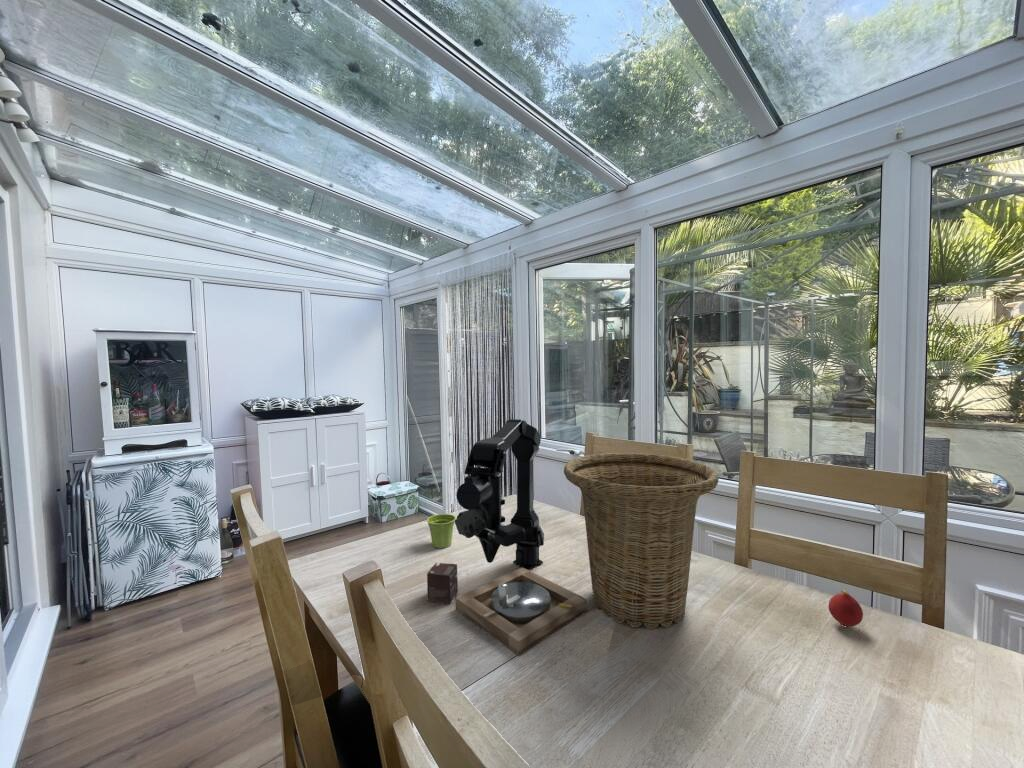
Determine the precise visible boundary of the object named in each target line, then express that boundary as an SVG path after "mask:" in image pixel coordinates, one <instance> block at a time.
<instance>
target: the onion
mask: <svg viewBox="0 0 1024 768" xmlns="http://www.w3.org/2000/svg"><path fill="white" fill-rule="evenodd" d="M840 592H841V593H836V594H835V595H833V596H832V597H830V599H829V601H828V607H827V608H828V611H829V613H830V615H831V616H832V617H833V619H834V620H836V622H838V623H839V624H840V626H842V625H843V626H846V627H847V628H852V627H856V626H857V625H859V624H860V623H861V622H862V620H863V618H864V612H863V608H862V607H861V605H860V603H859V602H858V601H857V599H855V598H854V597H853V596H852V595H851V594H849V593H848V591H846V590H844V589H842V590H840ZM843 626H842V627H843ZM846 627H845V628H846Z"/></svg>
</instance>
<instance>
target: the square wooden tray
mask: <svg viewBox="0 0 1024 768" xmlns="http://www.w3.org/2000/svg"><path fill="white" fill-rule="evenodd" d="M502 582H504V583H507V584H509V583H514V582H528V583H533V584H537V585H539V586H541V587H543V588H545V589H546V590H547V591H548V592H549V594H550V597H551V608H550V610H549V611H548V612H546V613H544V614H543V615H541V616H539V617H538V618H536V619H534V620H532V621H531V622H529V623H524V624H518V623H511V622H509V621H508V620H506V619H505V618H503V617H501V616H500V615H498V614H497V613H495V611H492V609H491V596H492V594H493V592H494V591H495V590H496V589H497V588H498V584H499V583H502ZM454 599H455V600H454V601H455V604H454V605H455V611H456V612H458V613H459V614H460V615H462V616H463V617H465V618H466V619H467V620H469V621H470V622H471V623H473V624H474V625H475V626H477V627H478V628H480V629H481V630H482V631H484V632H485V633H486V634H488V635H489V636H490V637H492V638H493V639H495V640H496V641H497V642H498V643H500V644H501V645H503V646H504V647H506V648H507V649H508V650H510V651H511V652H512V653H514V654H515V655H517V656H518V657H520V656H521V655H523V654H525V653H526V652H528V651H529V650H531V649H533V648H534V647H535V646H537V645H538V644H541V643H542V642H543V641H544V640H546V639H548V638H549V637H551V636H553V635H554V634H556V633H557V632H559V631H560V630H562V629H564V628H565V627H566V626H567V625H569V624H571V623H573V622H574V621H575V620H577V619H579V618H580V617H582V616H583V615H585V614H587V612H588V598H587V597H586V598H585V597H584V596H582V595H579V594H578V593H576V592H573V591H571V590H570V589H567V588H566V587H563V586H561V585H559V584H557V583H556V582H554V581H552V580H549V579H547V578H545V577H543V576H541V575H540V574H537V573H535V572H534V571H533V572H532V571H531V570H527V569H525V568H523V567H519V568H517V569H515V570H514V571H511V572H509V573H506V574H504V575H502V576H500V577H498V578H496V579H493V580H491V581H489V582H486V583H484V584H482V585H480V586H477V587H475V588H474V589H471V590H468V591H467V592H465V593H462V594H461V595H458V596H455V597H454Z"/></svg>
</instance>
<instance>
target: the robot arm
mask: <svg viewBox="0 0 1024 768" xmlns="http://www.w3.org/2000/svg"><path fill="white" fill-rule="evenodd" d="M541 437H542V435H541V434H540V432H539V430H538V429H537V428H536V427H535V426H532V425H531V424H528V423H527V421H526V420H524V419H519V418H518V419H516V418H515V419H514V418H511V419H506V422H505V424H504V425H503V426H502V427H501V428H499V429H498V431H496V432H495V433H494V434H493V435H492V436H491V437H489V438H483V439H480V440H478V441H476V442H475V443H474V444H473V446H471V449H470V452H469V454H468V455H469V456H468V459H467V463H466V466H465V470H464V475H467V476H465V477H464V482H463V483H462V484H460V485H459V486H458V488H457V491H456V495H455V496H456V500H457V502H458V504H459V505H460V506H461V508H463V509H465V510H464V511H461V512H459V513H458V514H457V516H456V520H455V522H454V525H455V526H456V529H457V532H458V535H462V536H464V537H465V538H467V539H471V538H473V537H474V536H475V537H476V538H477V539H478V540H479V542H480V544H481V548H482V551H483V553H484V556H485V559H486V562H487V563H489V564H490V563H493V562H494V560H495V557H496V555H497V553H498V551H499V549H500V546H503V547H510V546H513V545H516V549H515V560H513V561H512V563H513V564H515V565H516V566H518V567H519V568H522V567H523V568H525V569H527V570H529V571H531V570H532V569H534V568H536V567H538V566H541V565H543V563H544V561H543V560H541V559H540V547H542V546H544V545H545V543H544V540H545V533H544V532H543V529H542V528H541V526H540V518H539V515H537V513H536V512H535V510H534V509H535V508H534V458H535V457H536V456H537V454H538V452H539V451H540V445H541V440H542V439H541ZM509 448H510V449H511V452H512V454H513V456H514V457H515V459H516V511H515V513H514V515H513V516H512V517H511V519H510V523H508V524H502V523H505V522H506V517H505V516H503V515H502V506H503V505H506V499H503V498H502V477H501V476H502V475H501V474H503V472H504V469H503V468H504V466H505V462H506V460H507V451H508V450H509Z"/></svg>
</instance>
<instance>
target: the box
mask: <svg viewBox="0 0 1024 768" xmlns="http://www.w3.org/2000/svg"><path fill="white" fill-rule="evenodd" d="M426 574H427V575H426V581H427V582H426V583H427V586H426V588H427V591H426V592H427V603H434V604H435V603H437V604H446V605H447V604H448V605H450V604H451V603H452V602H453V600H454V599H455V598H456V597H457V596H456V595H458V593H459V585H458V582H459V581H458V580H459V579H458V564H457V563H445V562H444V563H442V562H436V563H434V565H433V566H432V567H430V570H429V571H428V572H427V573H426Z"/></svg>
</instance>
